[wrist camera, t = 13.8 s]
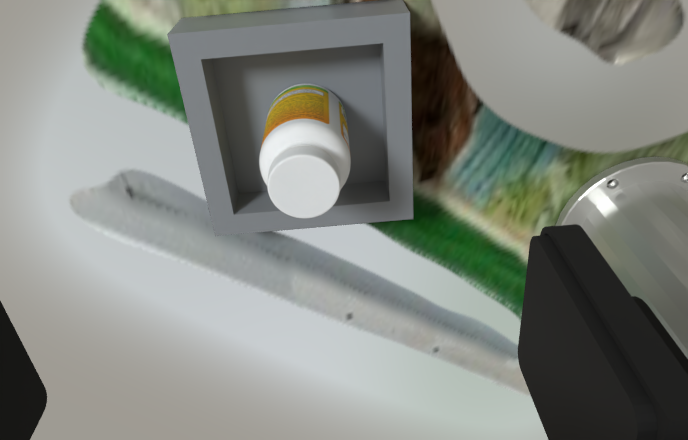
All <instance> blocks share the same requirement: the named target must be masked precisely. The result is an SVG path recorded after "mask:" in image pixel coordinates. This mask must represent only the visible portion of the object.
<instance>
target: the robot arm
mask: <svg viewBox="0 0 688 440" xmlns="http://www.w3.org/2000/svg"><path fill="white" fill-rule="evenodd" d="M518 359H519V365H520V368H521V371H522V374H523V376H524V379H525V381H526V384H527V386H528V389H529V392H530V394H531V397H532V399H533V402H534V404H535V407H536V409H537V412H538V414H539V417H540V419H541V422H542V424H543V427H544V429H545V432H546V434H547V437H548V439H549V440H688V164H687V163H685V162H683V161H679V160H676V159H673V158H665V157H647V158H638V159H634V160H630V161H626V162H623V163H620V164H618V165H616V166H613V167H611V168H608V169H606V170H605V171H603V172H601V173H600V174H598V175H596V176H595V177H593V178H592V179H591V180H589V181H588V182H587V183H586V184H584V185H583V186H582V187H581V188H580V189H579V190H578V191H577V192H576V193H575V194H574V195H573V196H572V197H571V198H570V199H569V201H568V202H567V204H566V205H565V207H564V209H563V210H562V212H561V213H560V216H559V218H558V221H557V223H556V225H555V226H550V227H544V228H543V229H542V231H541V234H540V236H533V237H532V239H531V242H530V248H529V257H528V266H527V275H526V283H525V292H524V301H523V309H522V318H521V327H520V336H519V344H518ZM46 403H47V393H46V390H45V387H44V385H43V383H42V381H41V379H40V377H39V375H38V373H37V372H36V369H35V368H34V365H33V363H32V362H31V360H30V358H29V356H28V354H27V352H26V350H25V348H24V346H23V344H22V342H21V340H20V338H19V336H18V334H17V332H16V330H15V328H14V327H13V324H12V323H11V321H10V319H9V317H8V315H7V313H6V311H5V309H4V307H3V305H2V303H1V301H0V440H30V438H31V436H32V434H33V432H34V430H35V428H36V426H37V424H38V422H39V420H40V418H41V416H42V414H43V412H44V410H45V407H46Z"/></svg>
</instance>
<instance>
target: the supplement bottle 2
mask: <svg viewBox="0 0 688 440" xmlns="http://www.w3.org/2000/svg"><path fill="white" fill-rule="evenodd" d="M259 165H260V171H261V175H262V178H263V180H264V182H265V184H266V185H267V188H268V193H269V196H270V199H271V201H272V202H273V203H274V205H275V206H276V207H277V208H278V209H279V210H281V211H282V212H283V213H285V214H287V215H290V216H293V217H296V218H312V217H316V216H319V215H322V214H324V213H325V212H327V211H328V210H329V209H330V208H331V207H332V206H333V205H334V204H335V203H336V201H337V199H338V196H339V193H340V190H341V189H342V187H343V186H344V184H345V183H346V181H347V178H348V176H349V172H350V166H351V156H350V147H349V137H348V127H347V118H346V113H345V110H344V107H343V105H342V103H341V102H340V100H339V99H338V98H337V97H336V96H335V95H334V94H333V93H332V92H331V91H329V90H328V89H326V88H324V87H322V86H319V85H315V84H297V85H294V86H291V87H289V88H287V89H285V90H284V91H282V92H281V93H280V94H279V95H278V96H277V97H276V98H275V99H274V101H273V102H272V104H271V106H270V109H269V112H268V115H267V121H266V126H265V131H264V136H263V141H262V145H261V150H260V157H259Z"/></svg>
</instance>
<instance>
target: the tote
mask: <svg viewBox="0 0 688 440" xmlns="http://www.w3.org/2000/svg"><path fill="white" fill-rule="evenodd" d="M167 35H168V39H169V43H170V47H171V51H172V56H173V60H174V64H175V68H176V73H177V77H178V81H179V85H180V89H181V94H182V98H183V102H184V106H185V111H186V115H187V119H188V123H189V127H190V132H191V136H192V140H193V144H194V148H195V153H196V156H197V161H198V165H199V169H200V174H201V178H202V182H203V186H204V191H205V195H206V199H207V203H208V208H209V212H210V216H211V220H212V225H213V229H214V233H215V236H221V235H232V234H244V233H256V232H267V231H279V230H290V229H301V228H314V227H325V226H337V225H349V224H360V223H372V222H384V221H395V220H407V219H413V166H412V103H411V41H410V12H409V10H408V8H407V7H406V5H405V3H404V2H403V0H379V1H367V2H356V3H345V4H334V5H323V6H311V7H300V8H289V9H278V10H267V11H256V12H244V13H233V14H222V15H211V16H200V17H189V18H181V19H180V20H179V22H178V23H177V24H176V25H175V26H174V27H173V28H172V30H171V31H170V32H169V33H168V34H167ZM297 84H315V85H319V86H322V87H324V88H326V89H328V90H329V91H331V92H332V93H333V94H334V95H335V96H336V97H337V98H338V99H339V100H340V102H341V103H342V105H343V107H344V110H345V113H346V118H347V127H348V137H349V147H350V156H351V166H350V172H349V176H348V178H347V181H346V183H345V184H344V186H343V187H342V189H341V190H340V193H339V196H338V199H337V201H336V203H335V204H334V205H333V206H332V207H331V208H330V209H329V210H328V211H327V212H325V213H324V214H322V215H319V216H316V217H312V218H296V217H293V216H290V215H287V214H285V213H283V212H282V211H281V210H279V209H278V208H277V207H276V206H275V205H274V203H273V202H272V201H271V199H270V196H269V193H268V188H267V185H266V184H265V182H264V180H263V178H262V175H261V171H260V165H259V157H260V150H261V145H262V141H263V136H264V131H265V126H266V121H267V115H268V112H269V109H270V106H271V104H272V102H273V101H274V99H275V98H276V97H277V96H278V95H279V94H280V93H281V92H282V91H284V90H285V89H287V88H289V87H291V86H294V85H297Z"/></svg>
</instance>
